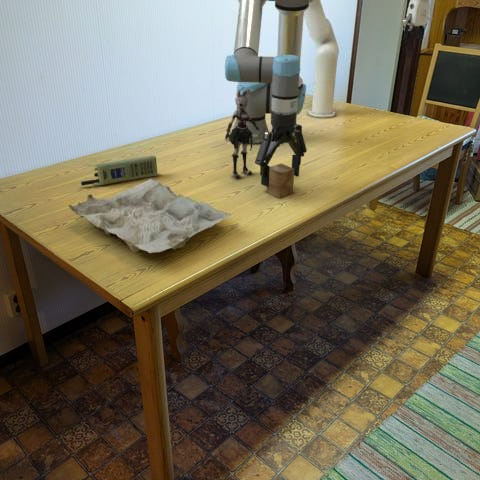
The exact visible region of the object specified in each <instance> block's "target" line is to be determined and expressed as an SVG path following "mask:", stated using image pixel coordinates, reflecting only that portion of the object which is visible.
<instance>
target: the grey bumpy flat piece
mask: <svg viewBox="0 0 480 480" xmlns="http://www.w3.org/2000/svg"><path fill="white" fill-rule="evenodd" d="M68 208H69V209H70V210H71V211H72V213H74V214H75V215H78V216H79V218H80V219H83V218H85V219H86V220H87V221H89V222H91V223H92V224H93V225H94V226H95V227H96V228H98V229H101V230H103V231H104V232H105V233H106V234H107V235H108V236H110V235H111V234H113V235H116V236H117V237H118V238H120V239H121V240H123V241H124V243H125V244H127V246H128V248H129V249H130V251H131V252H132V253H133V252H134V253H136V252H139V251H141V250H142V251H145V252H147V253H149V254H152V253H162V252H164V251H166V250H169V249H173V250H177V249H178V248H181V249H182V248H184V247H185V245H186V243H187V242H188V241H190V239H191V238H192V237H193V236H194V235H196V234H199V233H200V232H202V231H204V230H206V229H208V228H213V226H215V224H219V222H222V221H223V220H224V219H226V218H229V217H230V216H232V213H227V212H226V211H225V212H224V211H222V210H219V209H216V208H214V207H213V206H212V205H211V204H210V203H205V202H204V201H196V200H194V199H192V198H189V196H184V195H181V194H178V195H177V194H175V193H174V192H173V190H172V189H171V188H170V186H167V185H163V184H162V183H161V182H160V181H159V180H156V179H153V178H149V179H147V180H145V181H143V182H141V183H139V184H136V185H134V186H133V187H130V188H129V189H125V190H123V191H121V192H120V193H117V194H115V195H113V196H111V197H109V198H101V199H99V198H96V197H94V196H93V194H88V195H87V197H86V200H85V201H82V202H80V201H79V202H78V203H77V205H72V204H68Z"/></svg>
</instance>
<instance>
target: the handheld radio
mask: <svg viewBox="0 0 480 480" xmlns="http://www.w3.org/2000/svg"><path fill="white" fill-rule="evenodd" d="M157 164H158V163H157V156H156V155H147V156H141V157H140V156H139V157H134V158H127V159H121V160H115V161H108V162H101V163H96V164H93V167H94V168H93V171H97V172H95V173H94V174H93V175H94V177H96V179H90V180H83V181H82V180H81V181H80V185H81V186H88V185H93V184H94V185H96V186H97V187H98V186H99V187H100V186H105V185H109V184H115V183H121V182H128V181H134V180H139V179H144V178H151V177H156V176H158V175H159V174H158V165H157Z"/></svg>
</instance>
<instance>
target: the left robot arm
mask: <svg viewBox="0 0 480 480" xmlns="http://www.w3.org/2000/svg"><path fill="white" fill-rule="evenodd" d="M267 1H268V2H274V8H275V9H276V10H277V11H278V27H277V28H278V29H277V30H278V33H277V51H276V55H275V56H264V55H263V56H261V55H260V56H259V51H260V41H261V40H260V39H261V29H262V18H263V9H264V5H266V2H267ZM237 2H238V3H239V7H238V13H237V15H238V16H237V24H236V31H235V40H234V47H233V54H231V55H230V54H229V55H226V57H225V60H224V76H225V77H224V78H225V79H226V81H227V82H233V83H237V85H236V91H237V90H239V89H241V88H243V86H244V88H243V89H242V90H241V91H240V95H242V93H243V91H244V90H246V89H248V90H250V91H251V93H252V95H250V94H249V93H248V92H247V94H246V97H247V99H248V101H247V107H246V108H245V109H246V110H247V112H248V114H249V116H250V118H252V120H253V121H255V122H256V125H257V126H258V128H259V129H260V133H258V132H257V131H256V128H255V126H254V125H253V124H252V123H250V122H249V120H247V121H246V125H247V126H248V129H249V130H250V131H251V132H252V133H253V134H252V136H253V138H252V140H253V142H252V145H257V144H260V146H259V149H258V152H257V154H256V158H255V159H254V160H255V161H254V164H255V165H258V166H259V167H260V168H259V176H261V177H260V185H262V186H264V187H265V188H267V187H268V186H269V171H270V167H271V166H270V165H269V163H270V161H271V160H272V158H273V156H274V155H275V152H276V151H277V149H278V148H279V147H280V146H281V145H283V144H285V143H286V144H288V145H289V147H290V148H291V150H292V152H293V154H292V156H291V158H292V159H291V168H294V169H295V171H294V177H296V178H297V177H298V178H299V177H300V166H301V163H302V157H305V154H306V153H307V151H308V149H307V146H306V142H305V139H304V135H303V126H302V125H301V124H298V123H297V117H298V115H300V114H301V113H302V111H303V108H304V104H305V99H306V92H307V85H306V84H305V83H304V79H303V78H302V77H301V76H300V73H301V56H302V44H303V43H302V42H303V31H304V11H306V10H307V9H308V7H309V2H310V3H311V2H313V0H237ZM235 97H237V92H236V93H235ZM238 108H239V107H237V106H236V110H238ZM267 114H269V115H270V124H271V131H270V130H269V127H268V124H267V121H266V115H267ZM234 122H235V123H234V125H233V128H232V129H234V128H235V127H236V126H237V125H238V123H239V122H238V121H237V118H235V121H234ZM253 143H254V144H253ZM241 144H242V142H241ZM248 145H250V139H249V144H248Z"/></svg>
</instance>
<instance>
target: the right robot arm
mask: <svg viewBox="0 0 480 480" xmlns="http://www.w3.org/2000/svg"><path fill="white" fill-rule="evenodd" d="M430 3H431V0H409V3H408V7H407V11H406V17H404V18H403V20H402V24H403V25H402V26H403V37H402V41H403V42H410V41H411V37H412V36H411V35H412V29H413V27H418V28H416V29H417V30H416V36H415V39H416V40H424V36H425V30H426V29H427V26H428V23H429V20H430V17H429V15H430V7H431V6H430V5H431V4H430ZM303 19H304V21H305V24H306V27H307V31H308V35H309V37H310V38H311V40H312V41H313V42H314V46H315V49H316V53H315V59H314V60H315V61H314V63H315V65H314V67H315V68H314V79H313V80H314V81H313V93H312V94H313V95H312V106H311V109H309V110H308V112H307V113H308V115H309V116H310V117H315V118H320V119H321V118H322V119H323V118H324V119H326V118H327V119H328V118H333V117H335V116H336V111H334V110H333V108H334V97H335V88H336V87H335V86H336V79H337V78H336V76H337V66H338V58H339V52H340V47H339V45H338V42H337V38H336V35H335V32H334V29H333V26H332V23H331V22H330V20H329V19H328V18H327V17H326V14H325V12H324V8H323V5H322V2H321V0H313V2H311V3H310V2H309V7H308V9H307V10H306V11H304V17H303Z"/></svg>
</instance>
